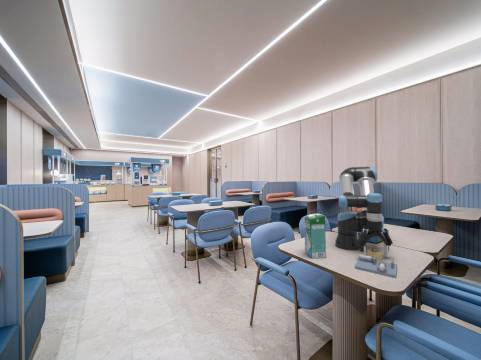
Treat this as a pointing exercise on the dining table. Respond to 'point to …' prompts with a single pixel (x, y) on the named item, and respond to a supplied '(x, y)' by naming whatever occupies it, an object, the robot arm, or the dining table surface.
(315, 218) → the milk carton
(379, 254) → the block
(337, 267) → the dining table surface
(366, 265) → the shaft bench
